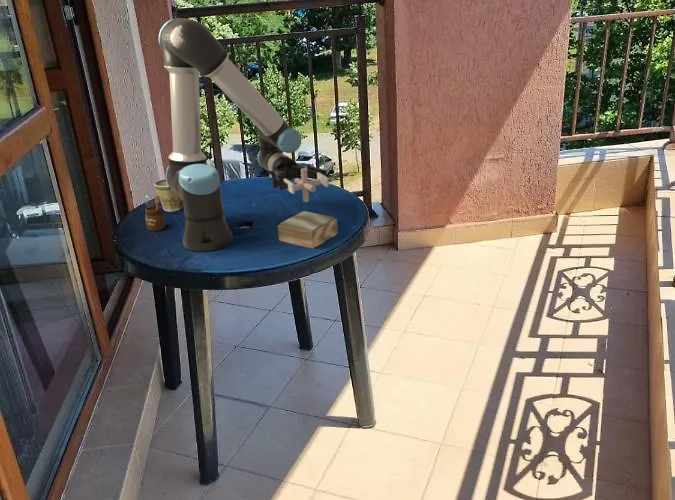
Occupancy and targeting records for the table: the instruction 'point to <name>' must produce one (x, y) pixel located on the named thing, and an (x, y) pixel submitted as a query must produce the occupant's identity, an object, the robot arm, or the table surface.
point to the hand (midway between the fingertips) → (310, 185)
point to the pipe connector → (305, 184)
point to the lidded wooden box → (307, 229)
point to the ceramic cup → (168, 196)
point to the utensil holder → (154, 216)
